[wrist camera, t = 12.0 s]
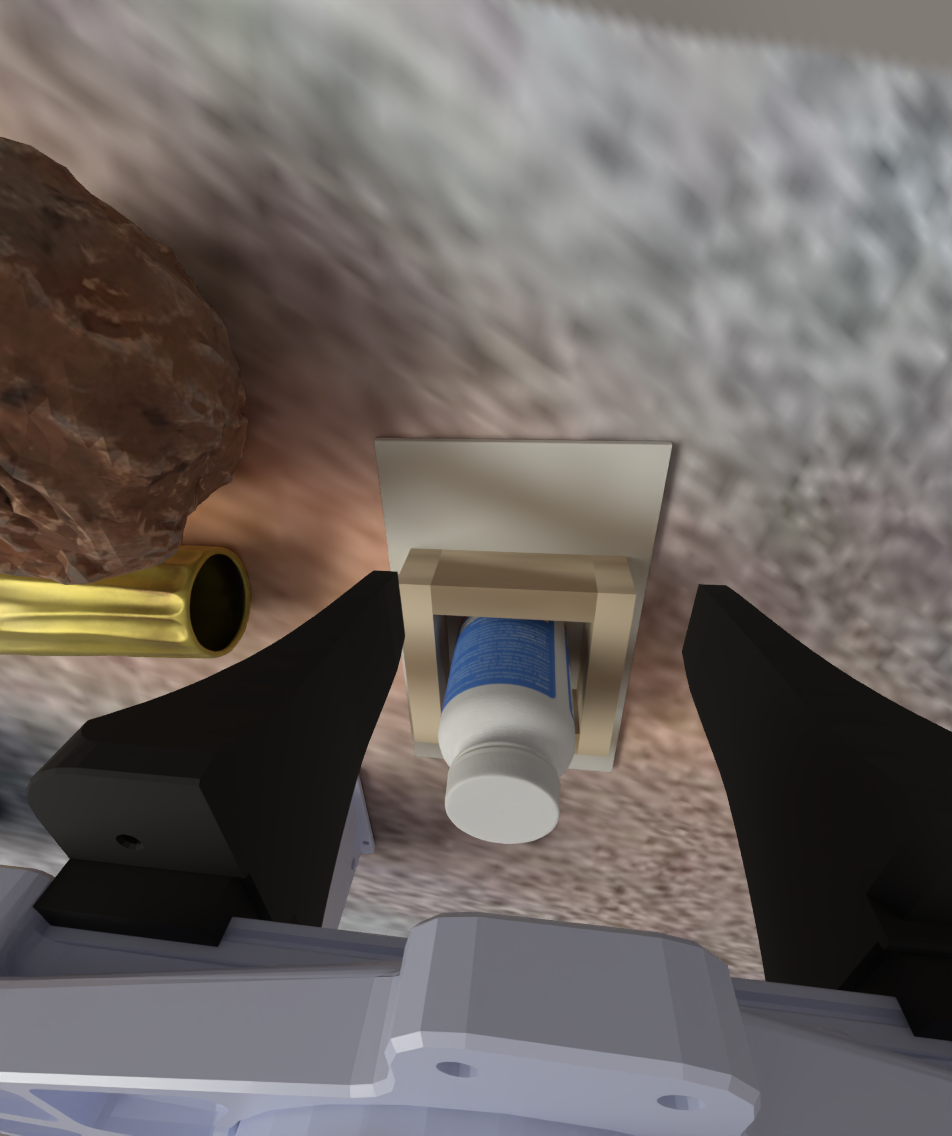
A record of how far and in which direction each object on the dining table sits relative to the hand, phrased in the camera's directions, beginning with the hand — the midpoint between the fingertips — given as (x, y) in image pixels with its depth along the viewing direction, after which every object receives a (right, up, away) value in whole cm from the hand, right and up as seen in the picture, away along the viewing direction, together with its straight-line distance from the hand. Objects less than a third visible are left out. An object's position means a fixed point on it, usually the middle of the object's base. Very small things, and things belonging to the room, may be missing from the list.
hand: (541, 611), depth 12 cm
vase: (-28, 0, +13) cm, 31 cm away
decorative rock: (-15, +10, +9) cm, 20 cm away
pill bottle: (0, -2, +13) cm, 13 cm away
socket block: (0, -2, +14) cm, 14 cm away
